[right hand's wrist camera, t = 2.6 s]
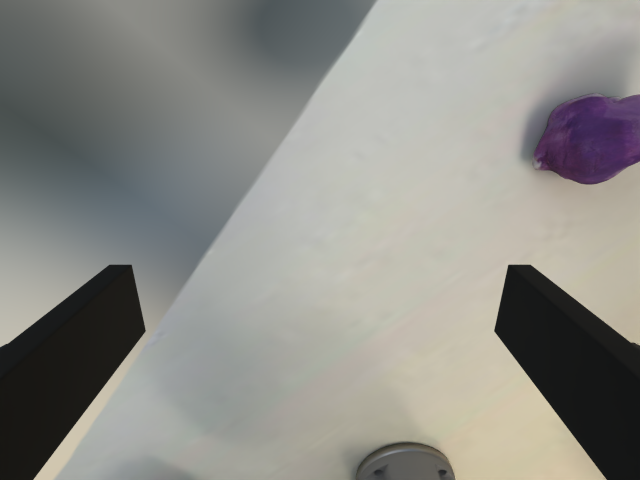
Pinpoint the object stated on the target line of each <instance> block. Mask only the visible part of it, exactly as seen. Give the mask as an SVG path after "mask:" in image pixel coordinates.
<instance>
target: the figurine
mask: <svg viewBox="0 0 640 480" xmlns="http://www.w3.org/2000/svg"><path fill="white" fill-rule="evenodd" d="M639 161H640V95H633V96H629V97H626V98H623V99H621V98H620V97H609V98H608V97H606V96H604V95H602V94H598V93H593V94H589V95H585V96H581V97H579V98H576V99H572V100H570V101H568V102H565V103H563V104H561V105H559V106H557V107H556V108H555V110H553V111H552V113H551V115H550V118H549V120H548V126H547V128H546V130H545V133H544V135H543V136H542V138H541V140H540V142H539V144H538V146H537V148H536V150H535V152H534V154H533V167H534V169H536V170H552V171H554V172H556V173H557V174H559V175H560V176H561V177H563V178H565V179H570V180H573V181H576V182H578V183H581V184H597V183H601V182H604V181H607V180H609V179H611V178H612V177H614V176H615V175H617V174H618V173H620V172H621V171H622V170H624V169H625V168H627V167H628V166H630V165H633V164H635V163H637V162H639Z"/></svg>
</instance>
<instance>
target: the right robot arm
mask: <svg viewBox="0 0 640 480" xmlns="http://www.w3.org/2000/svg"><path fill="white" fill-rule="evenodd" d="M145 331H146V330H145V325H144V321H143V316H142V311H141V307H140V302H139V297H138V293H137V288H136V283H135V279H134V274H133V269H132V265H109V266H107V267H106V268H105V269H104V270H102V271H101V272H100V273H98V274H97V275H96V276H95V277H93V278H92V279H91V280H89V281H88V282H87V283H86V284H84V285H83V286H82V287H80V288H79V289H78V290H77V291H75V292H74V293H73V294H71V295H70V296H69V297H68V298H66V299H65V300H64V301H62V302H61V303H60V304H59V305H57V306H56V307H55V308H53V309H52V310H51V311H50V312H48V313H47V314H46V315H44V316H43V317H42V318H41V319H39V320H38V321H37V322H35V323H34V324H33V325H32V326H30V327H29V328H28V329H26V330H25V331H24V332H23V333H21V334H20V335H19V336H17V337H16V338H15V339H14V340H12V341H11V342H10V343H8V344H6V345H4V346H2V347H0V480H33V479H34V478H35V477H36V475H37V474H38V473H39V471H40V470H41V469H42V467H43V466H44V465H45V463H46V462H47V461H48V459H49V458H50V457H51V455H52V454H53V453H54V451H55V450H56V449H57V447H58V446H59V445H60V444H61V442H62V441H63V440H64V438H65V437H66V436H67V434H68V433H69V432H70V430H71V429H72V428H73V426H74V425H75V424H76V422H77V421H78V420H79V419H80V417H81V416H82V415H83V413H84V412H85V411H86V409H87V408H88V407H89V405H90V404H91V403H92V401H93V400H94V399H95V397H96V396H97V395H98V393H99V392H100V391H101V389H102V388H103V387H104V386H105V384H106V383H107V382H108V380H109V379H110V378H111V376H112V375H113V374H114V372H115V371H116V370H117V368H118V367H119V366H120V364H121V363H122V362H123V360H124V359H125V358H126V356H127V355H128V354H129V353H130V351H131V350H132V349H133V347H134V346H135V345H136V343H137V342H138V341H139V339H140V338H141V337H142V335H143V334H144V333H145ZM494 331H495V333H496V334H497V335H498V337H499V338H500V339H501V341H502V342H503V343H504V345H505V346H506V347H507V349H508V350H509V351H510V353H511V354H512V355H513V356H514V358H515V359H516V360H517V362H518V363H519V364H520V366H521V367H522V368H523V370H524V371H525V372H526V374H527V375H528V376H529V378H530V379H531V380H532V382H533V383H534V384H535V386H536V387H537V388H538V389H539V391H540V392H541V393H542V395H543V396H544V397H545V399H546V400H547V401H548V403H549V404H550V405H551V407H552V408H553V409H554V411H555V412H556V413H557V415H558V416H559V417H560V419H561V420H562V421H563V422H564V424H565V425H566V426H567V428H568V429H569V430H570V432H571V433H572V434H573V436H574V437H575V438H576V440H577V441H578V442H579V444H580V445H581V446H582V448H583V449H584V450H585V452H586V453H587V454H588V455H589V457H590V458H591V459H592V461H593V462H594V463H595V465H596V466H597V467H598V469H599V470H600V471H601V473H602V474H603V475H604V477H605V478H606V479H607V480H640V346H639V345H637V344H635V343H630V342H629V341H628V340H626V339H625V338H624V337H623V336H621V335H620V334H619V333H617V332H616V331H615V330H614V329H612V328H611V327H610V326H608V325H607V324H606V323H605V322H603V321H602V320H601V319H599V318H598V317H597V316H596V315H594V314H593V313H592V312H590V311H589V310H588V309H587V308H585V307H584V306H583V305H581V304H580V303H579V302H578V301H576V300H575V299H574V298H572V297H571V296H570V295H569V294H567V293H566V292H565V291H563V290H562V289H561V288H560V287H558V286H557V285H556V284H554V283H553V282H552V281H551V280H549V279H548V278H547V277H545V276H544V275H543V274H542V273H540V272H539V271H538V270H536V269H535V268H534V267H533V266H531V265H508V269H507V274H506V279H505V283H504V288H503V293H502V297H501V302H500V307H499V311H498V316H497V321H496V325H495V330H494ZM356 480H455V476H454V473H453V470H452V467H451V465H450V463H449V461H448V459H447V458H446V457H445V456H444V455H443V454H442V453H440V452H439V451H437V450H435V449H433V448H431V447H428V446H425V445H421V444H413V443H403V444H396V445H391V446H387V447H384V448H382V449H380V450H378V451H376V452H374V453H372V454H371V455H370V456H368V457H367V458H366V459H365V460H364V461H363V462H362V464H361V465H360V467H359V468H358V471H357V474H356Z"/></svg>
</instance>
